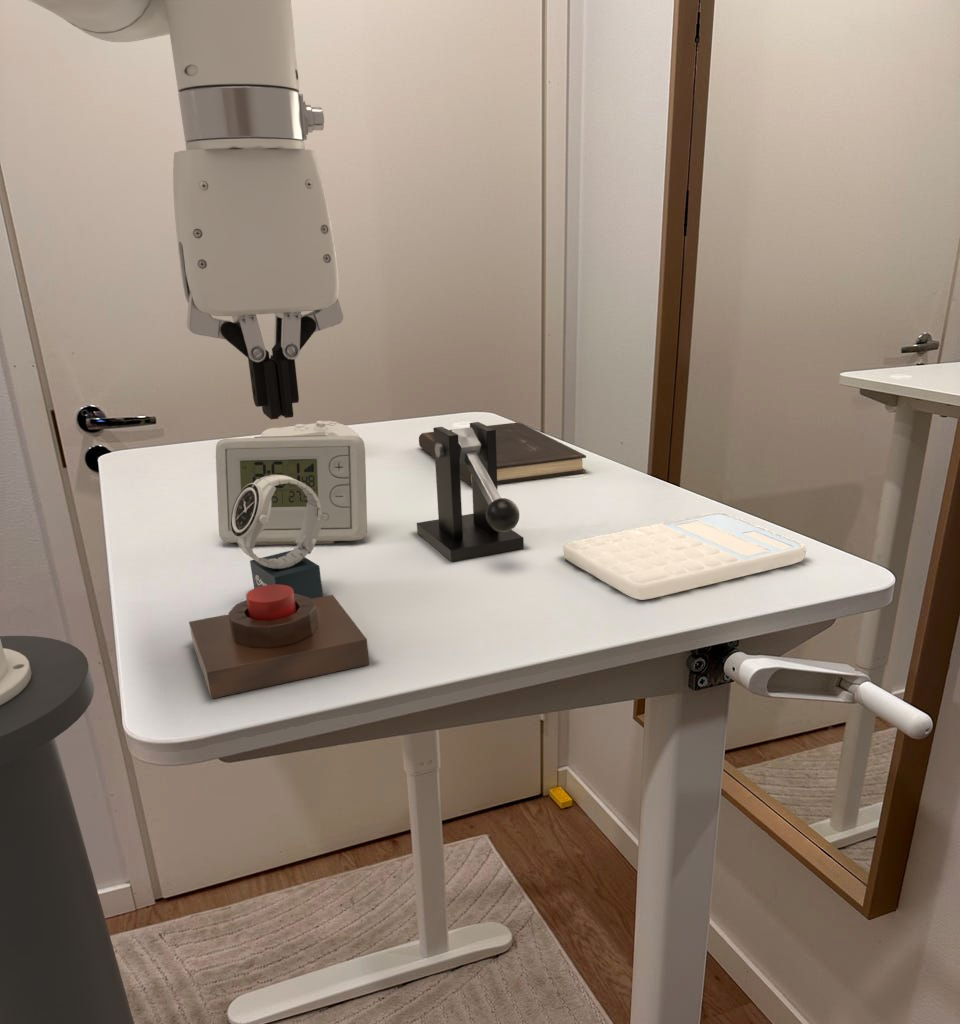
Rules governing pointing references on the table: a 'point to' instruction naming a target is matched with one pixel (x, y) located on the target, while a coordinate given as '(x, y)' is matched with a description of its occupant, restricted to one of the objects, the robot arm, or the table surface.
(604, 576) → the calculator
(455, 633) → the table surface
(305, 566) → the watch
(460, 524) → the bracket
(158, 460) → the table surface
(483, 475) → the lever
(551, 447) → the hardcover book
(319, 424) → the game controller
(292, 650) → the button block
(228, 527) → the digital clock
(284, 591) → the button
